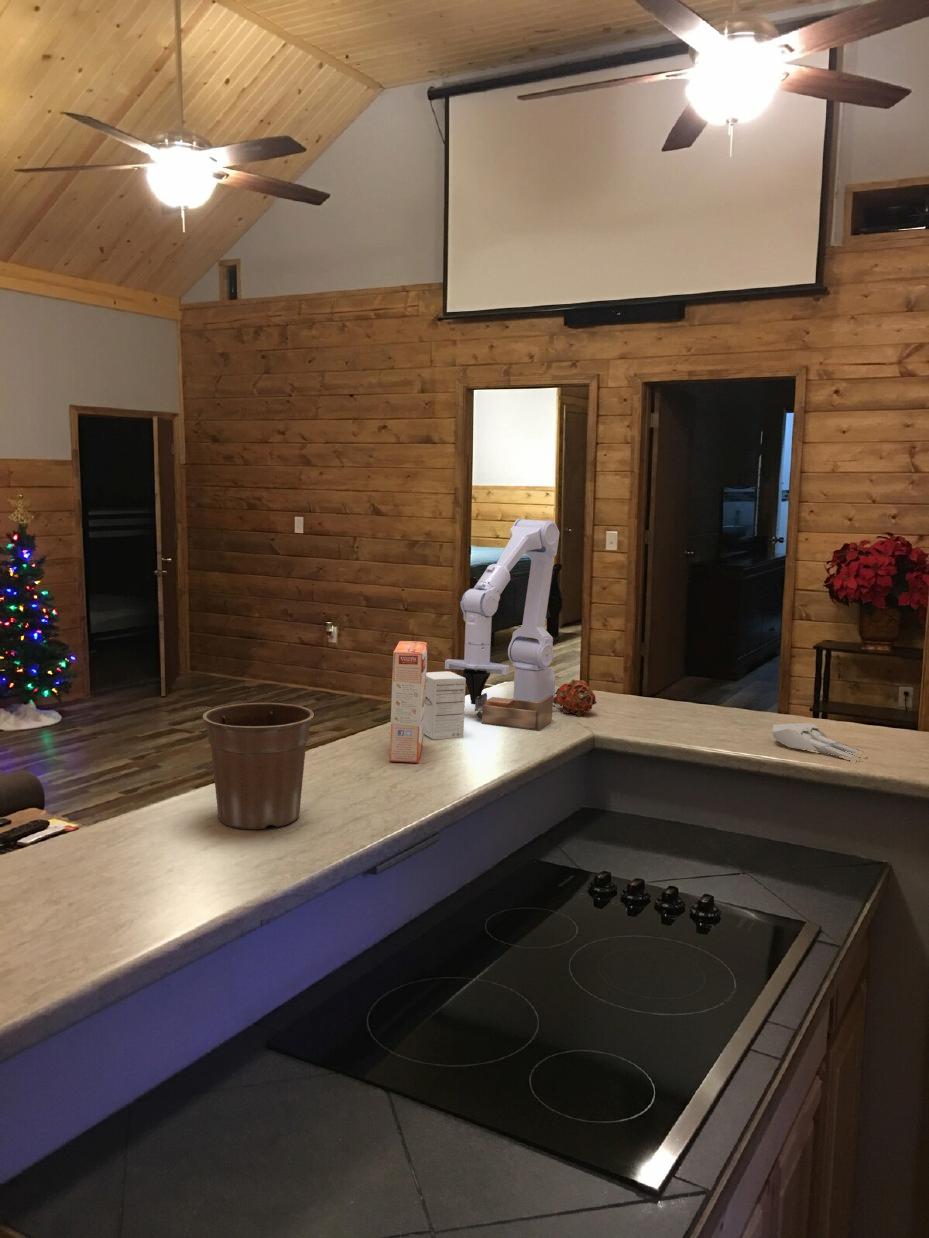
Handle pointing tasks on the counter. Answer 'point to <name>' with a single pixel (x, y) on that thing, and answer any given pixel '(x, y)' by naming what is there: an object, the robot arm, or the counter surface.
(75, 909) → the counter surface
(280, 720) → the plant pot
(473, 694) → the robot arm
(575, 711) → the dragon fruit
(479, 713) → the wheeled platform dolly
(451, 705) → the supplement box
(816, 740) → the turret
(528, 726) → the brown wooden open box
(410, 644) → the cracker box
